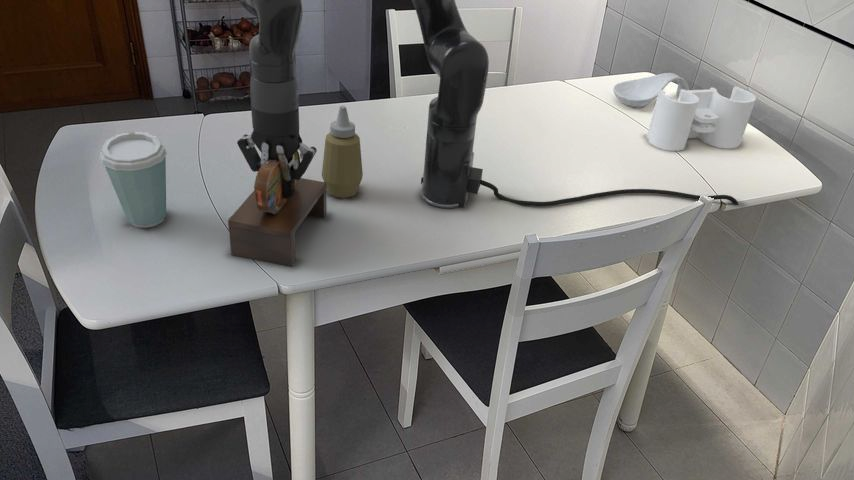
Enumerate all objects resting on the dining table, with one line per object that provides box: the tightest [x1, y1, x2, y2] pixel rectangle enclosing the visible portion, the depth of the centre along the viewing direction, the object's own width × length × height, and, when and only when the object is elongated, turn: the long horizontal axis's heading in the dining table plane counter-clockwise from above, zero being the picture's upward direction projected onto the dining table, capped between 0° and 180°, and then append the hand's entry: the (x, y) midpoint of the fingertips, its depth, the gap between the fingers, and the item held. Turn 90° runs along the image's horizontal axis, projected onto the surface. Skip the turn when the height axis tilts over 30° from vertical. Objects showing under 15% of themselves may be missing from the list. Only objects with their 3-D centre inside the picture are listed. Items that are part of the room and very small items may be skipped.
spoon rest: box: [612, 72, 690, 109], centre depth 201 cm, size 24×12×7 cm, turn 117°
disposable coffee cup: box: [98, 131, 168, 229], centre depth 129 cm, size 11×11×15 cm
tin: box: [253, 149, 301, 214], centre depth 127 cm, size 15×3×8 cm, turn 169°
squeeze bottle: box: [321, 105, 364, 199], centre depth 143 cm, size 8×8×18 cm
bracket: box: [646, 86, 757, 152], centre depth 181 cm, size 25×10×12 cm, turn 108°
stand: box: [227, 177, 328, 268], centre depth 132 cm, size 11×18×7 cm, turn 169°
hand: (279, 194), depth 129 cm, fingers closed on tin, 2 cm apart
